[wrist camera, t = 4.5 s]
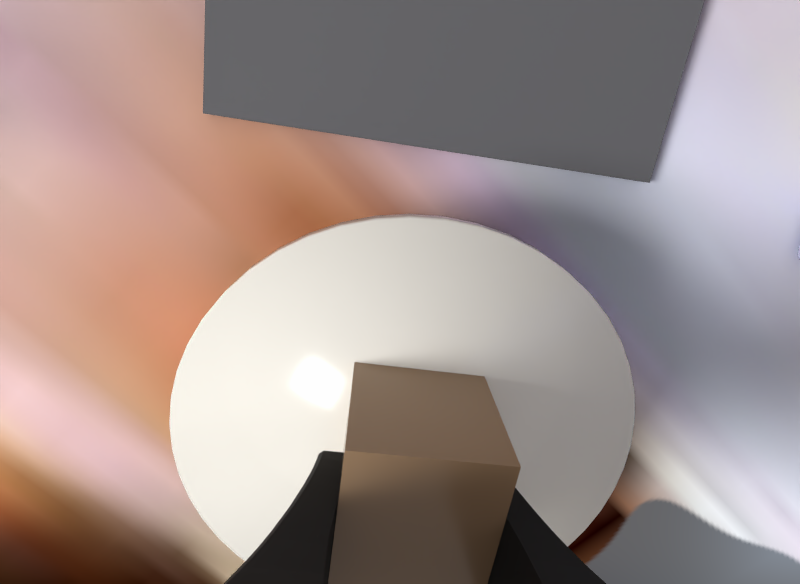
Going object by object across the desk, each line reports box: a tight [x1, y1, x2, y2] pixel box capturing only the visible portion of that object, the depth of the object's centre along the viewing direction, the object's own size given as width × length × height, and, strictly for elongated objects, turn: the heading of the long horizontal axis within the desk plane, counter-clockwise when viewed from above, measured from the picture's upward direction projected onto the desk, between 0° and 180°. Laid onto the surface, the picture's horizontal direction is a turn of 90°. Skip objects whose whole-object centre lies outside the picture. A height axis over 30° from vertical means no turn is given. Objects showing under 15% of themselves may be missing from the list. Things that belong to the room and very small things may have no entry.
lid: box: [170, 214, 635, 584], centre depth 12 cm, size 13×13×4 cm
